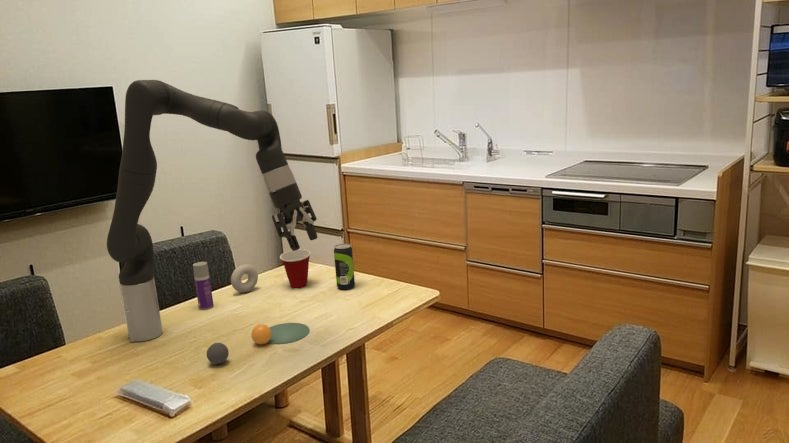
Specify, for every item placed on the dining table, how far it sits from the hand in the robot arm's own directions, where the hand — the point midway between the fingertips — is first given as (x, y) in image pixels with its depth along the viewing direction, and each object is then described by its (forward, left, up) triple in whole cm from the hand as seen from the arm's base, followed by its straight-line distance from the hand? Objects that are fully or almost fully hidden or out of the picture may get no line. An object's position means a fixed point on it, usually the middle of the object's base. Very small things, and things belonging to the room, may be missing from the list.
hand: (305, 244), depth 157 cm
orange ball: (-11, +12, -26) cm, 31 cm away
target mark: (-4, +14, -29) cm, 33 cm away
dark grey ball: (-25, +7, -26) cm, 37 cm away
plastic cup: (+13, +50, -29) cm, 60 cm away
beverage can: (+26, +38, -29) cm, 55 cm away
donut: (-4, +56, -29) cm, 64 cm away
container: (-19, +50, -29) cm, 61 cm away
